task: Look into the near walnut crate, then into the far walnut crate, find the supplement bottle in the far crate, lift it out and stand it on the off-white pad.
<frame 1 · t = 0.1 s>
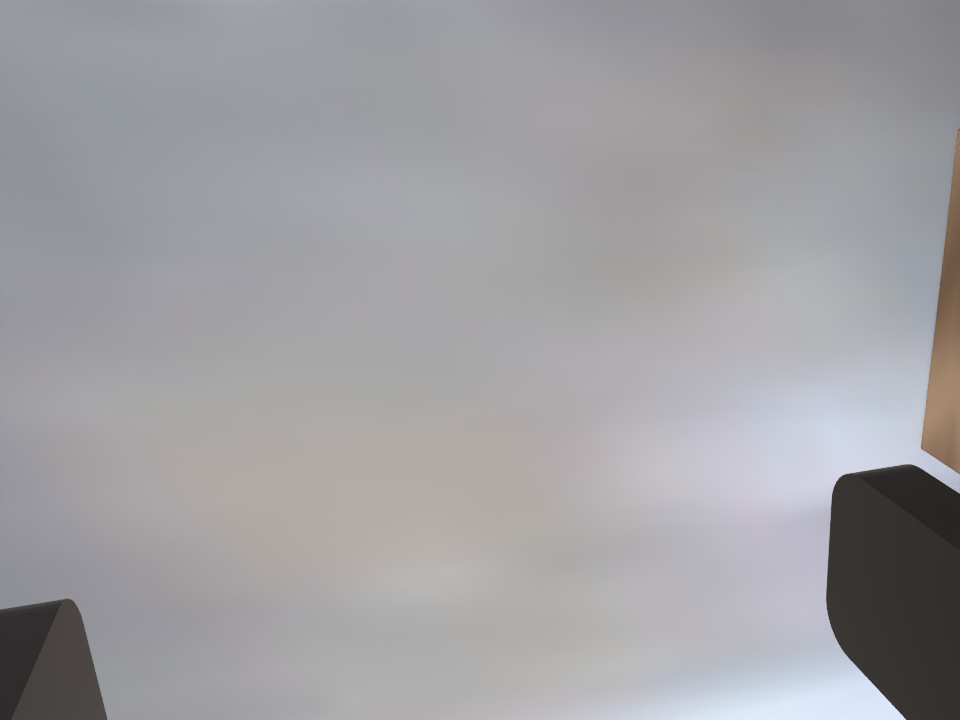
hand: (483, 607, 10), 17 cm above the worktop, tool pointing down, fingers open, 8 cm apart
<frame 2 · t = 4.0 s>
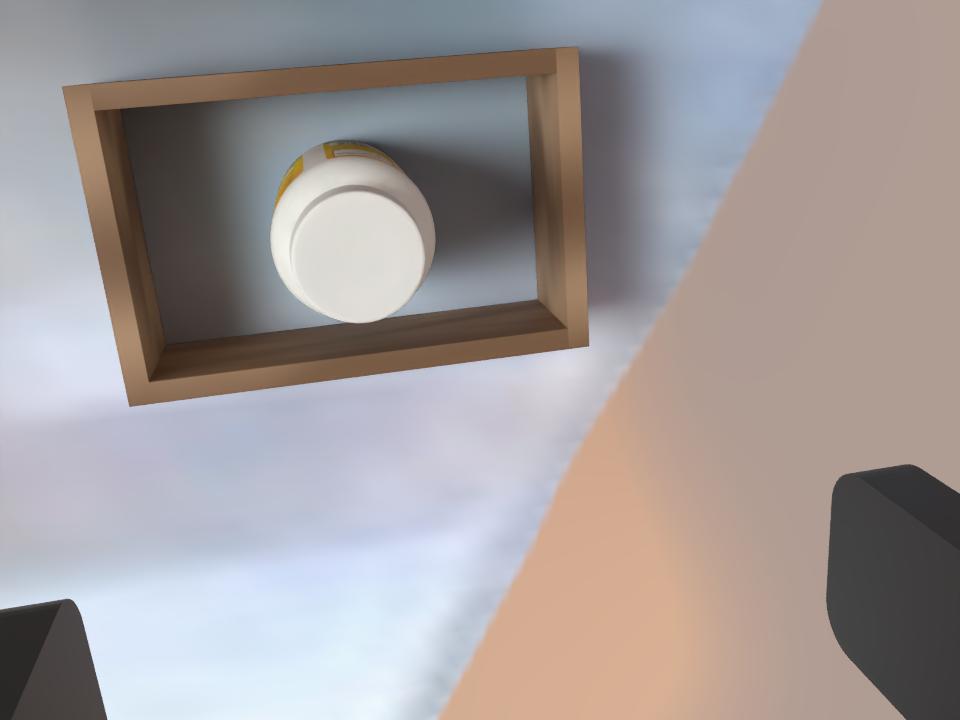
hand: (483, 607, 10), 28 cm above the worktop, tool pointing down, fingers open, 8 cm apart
supplement bottle: (344, 208, 36), resting in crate
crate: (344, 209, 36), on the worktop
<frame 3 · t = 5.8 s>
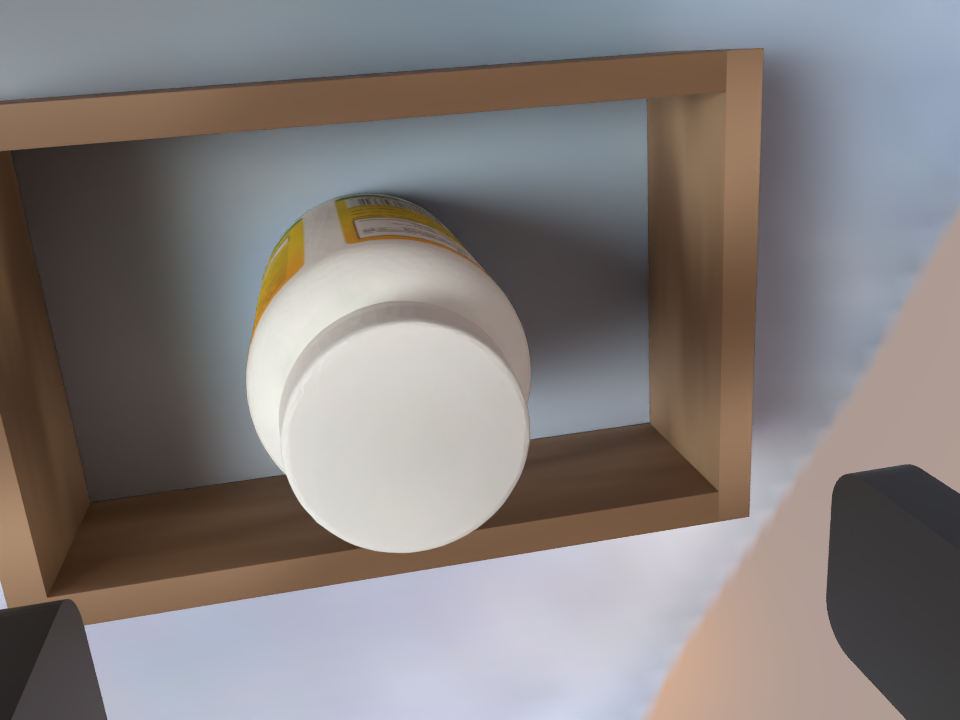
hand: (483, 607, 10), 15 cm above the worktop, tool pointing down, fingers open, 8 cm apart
supplement bottle: (365, 294, 24), resting in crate
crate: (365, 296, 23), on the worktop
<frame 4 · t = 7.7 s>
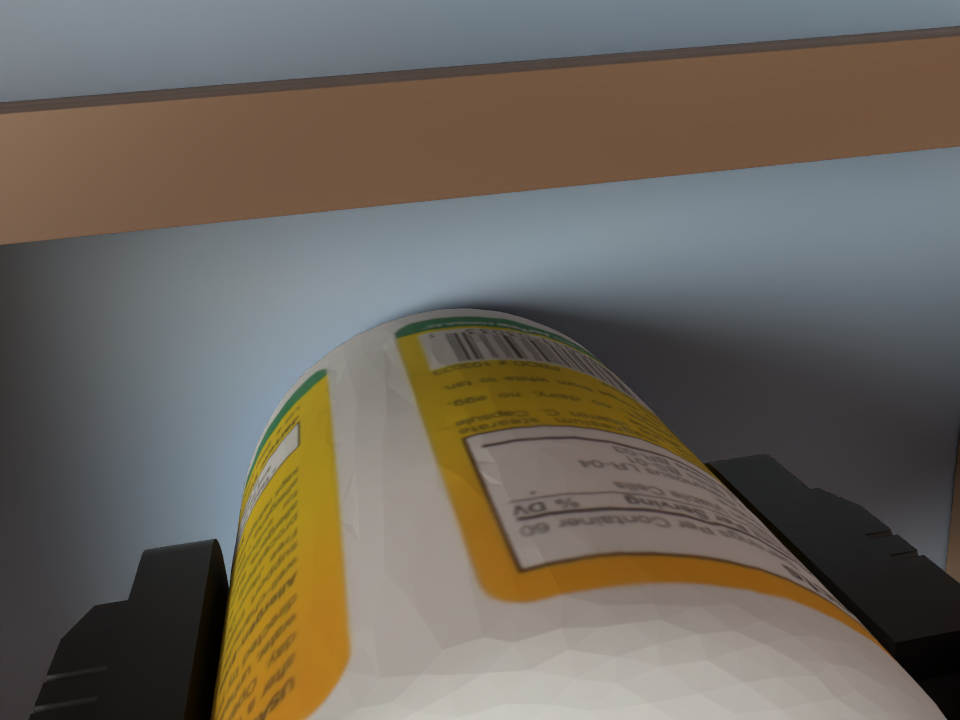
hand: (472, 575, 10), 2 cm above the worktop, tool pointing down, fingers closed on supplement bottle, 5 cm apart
supplement bottle: (444, 490, 12), resting in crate, touching gripper
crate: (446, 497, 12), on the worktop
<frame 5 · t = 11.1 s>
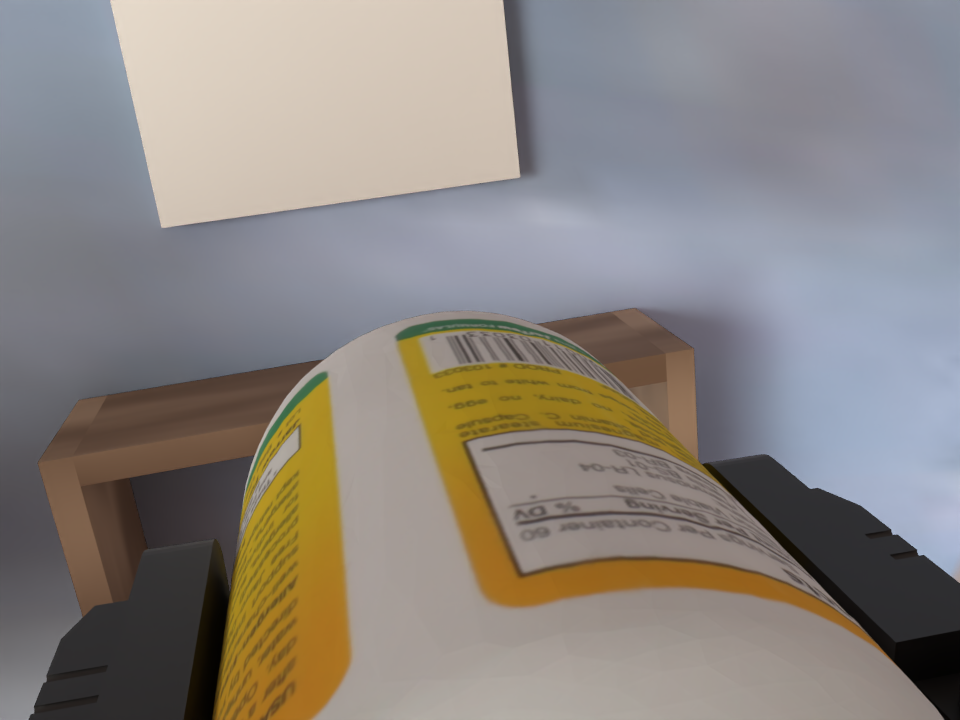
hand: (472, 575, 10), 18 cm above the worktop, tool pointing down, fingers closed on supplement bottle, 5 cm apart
supplement bottle: (445, 492, 12), point 15 cm above the worktop, touching gripper
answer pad: (315, 12, 24), on the worktop
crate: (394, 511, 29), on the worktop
when the fingers open (4 cm above the worktop, at t = 14.7 s): supplement bottle drops 2 cm, resting on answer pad.
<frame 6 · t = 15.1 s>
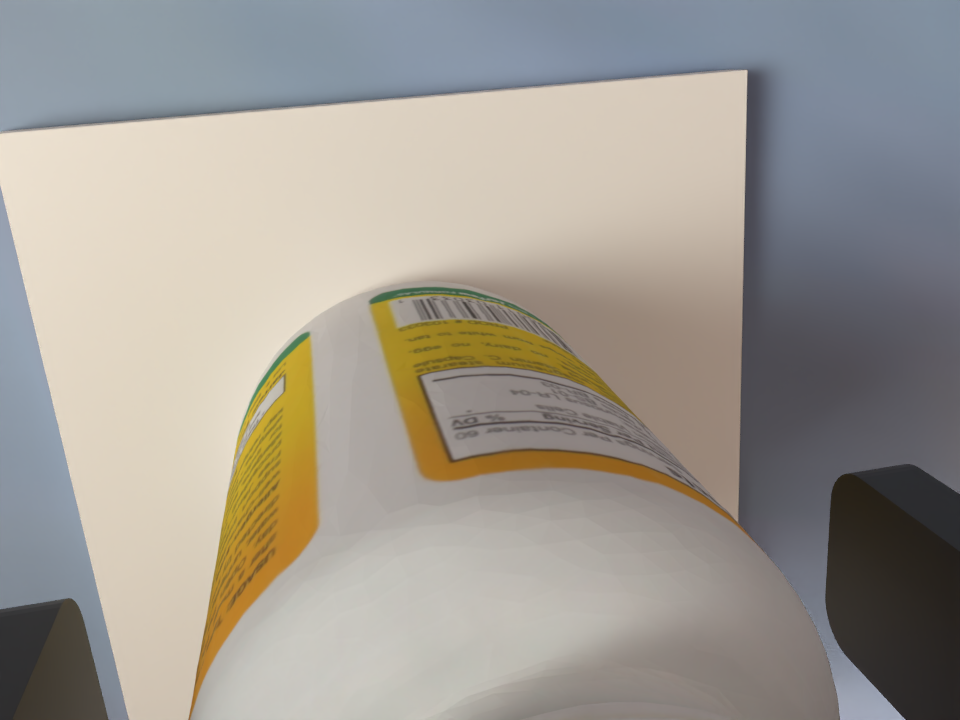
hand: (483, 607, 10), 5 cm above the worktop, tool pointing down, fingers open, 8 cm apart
supplement bottle: (416, 445, 14), resting on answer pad
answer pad: (422, 432, 14), on the worktop
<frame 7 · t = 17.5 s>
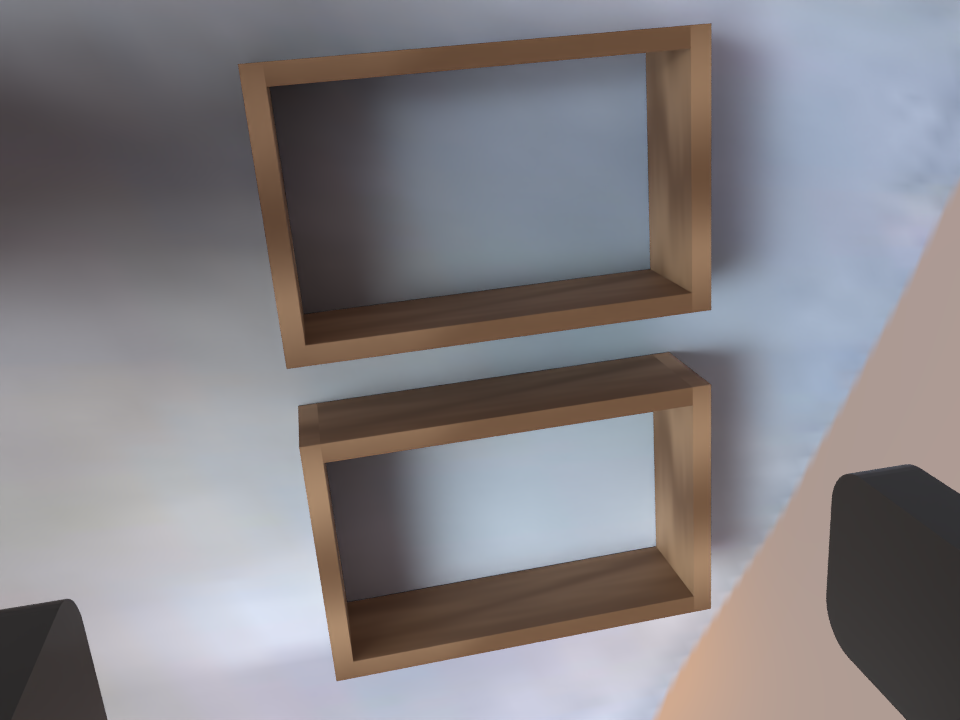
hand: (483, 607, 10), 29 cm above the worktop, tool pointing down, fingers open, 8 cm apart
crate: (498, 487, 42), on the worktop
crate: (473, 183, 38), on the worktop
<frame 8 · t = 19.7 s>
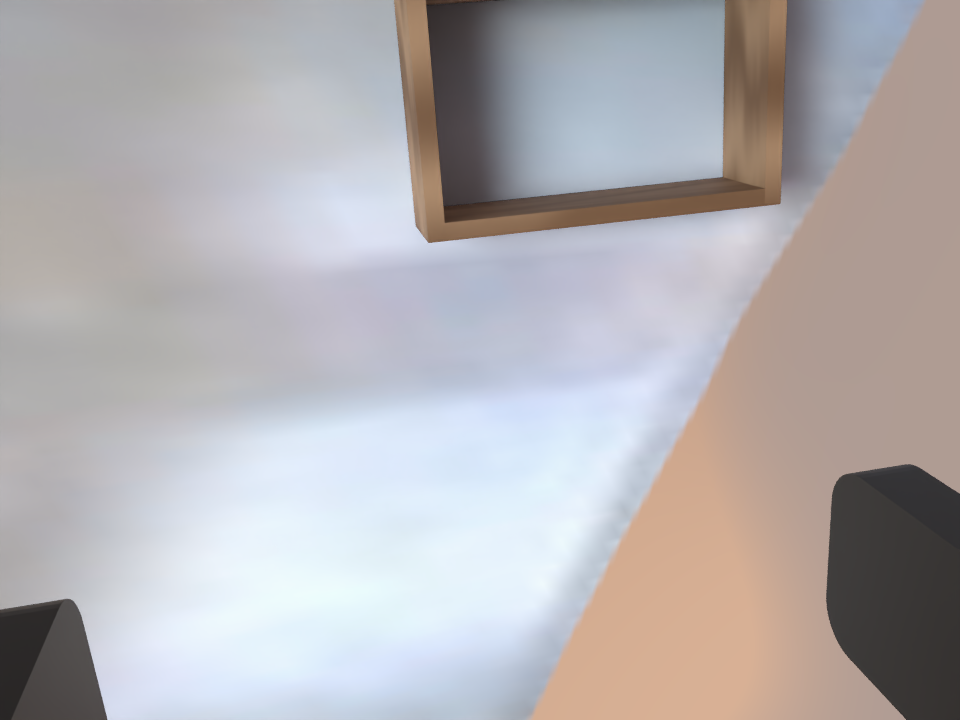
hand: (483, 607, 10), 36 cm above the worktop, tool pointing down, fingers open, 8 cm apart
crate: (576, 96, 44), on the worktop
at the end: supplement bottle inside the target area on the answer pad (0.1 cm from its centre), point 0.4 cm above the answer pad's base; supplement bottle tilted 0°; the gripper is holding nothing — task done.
